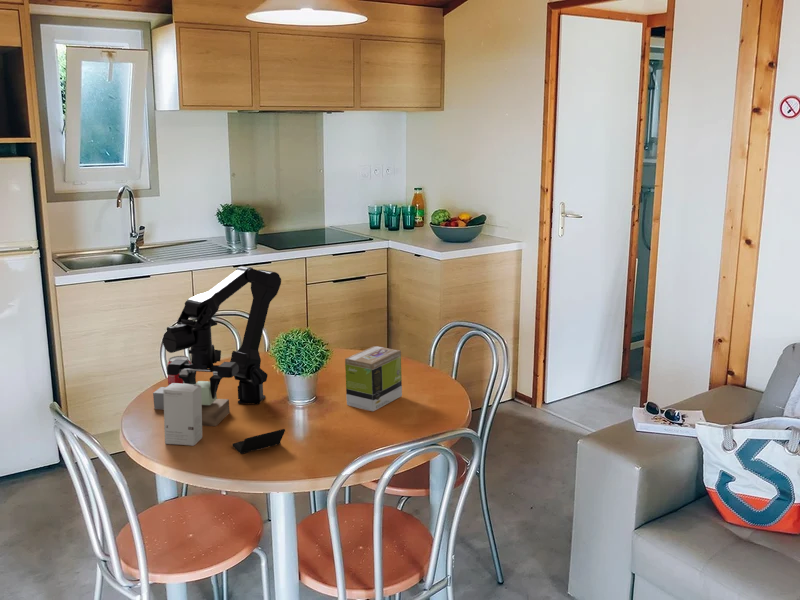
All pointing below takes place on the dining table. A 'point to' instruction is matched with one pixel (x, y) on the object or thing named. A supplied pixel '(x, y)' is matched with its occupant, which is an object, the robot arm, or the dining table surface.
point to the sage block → (206, 392)
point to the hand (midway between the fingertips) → (204, 397)
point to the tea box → (373, 378)
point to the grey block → (159, 398)
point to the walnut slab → (215, 412)
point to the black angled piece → (259, 441)
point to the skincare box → (182, 414)
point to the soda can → (175, 377)
